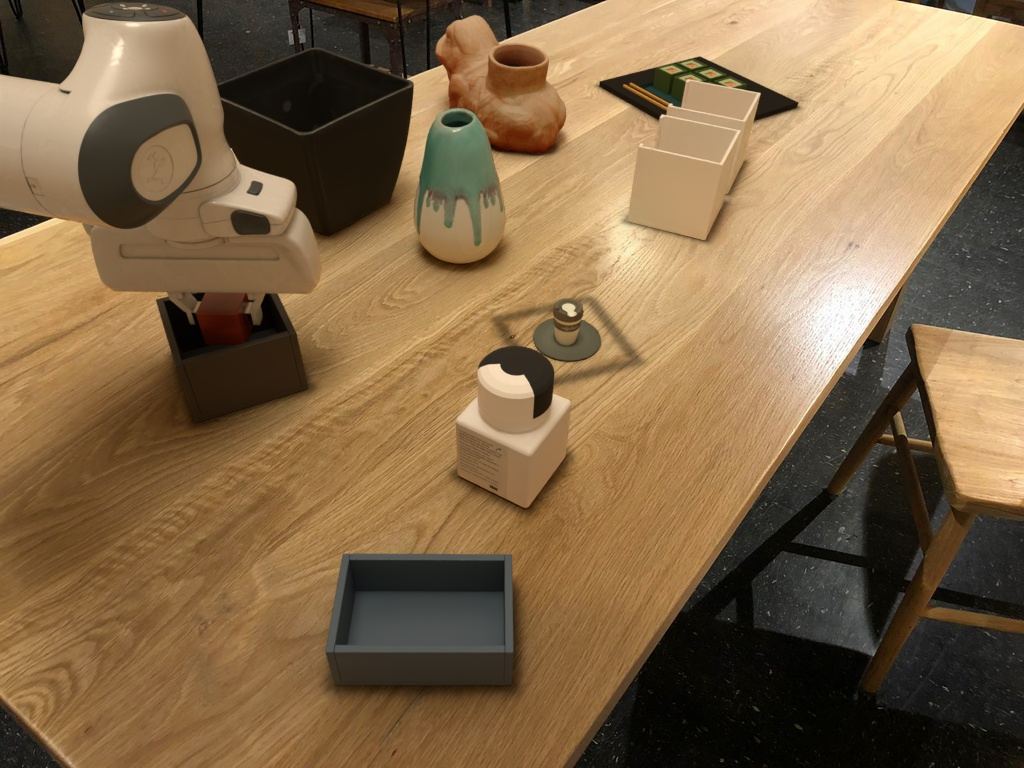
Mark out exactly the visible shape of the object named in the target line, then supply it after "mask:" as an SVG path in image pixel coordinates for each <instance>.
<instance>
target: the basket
mask: <svg viewBox="0 0 1024 768" xmlns="http://www.w3.org/2000/svg"><path fill="white" fill-rule="evenodd" d="M190 293H191V294H192V296H193V297H194V298H195V299H196V300H197V301H202V299H203V297H204V295H205V293H195V292H190ZM253 301H254V300H250V302H253ZM155 303H156V306H157V310H158V312H159V313H158V314H159V316H160V319H161V323H162V326H163V329H164V333H165V336H166V341H167V343H168V347H169V350H170V354H171V356H172V360H173V363H174V367H175V370H176V372H177V376H178V378H179V380H180V381H179V382H180V383H181V385H182V388H183V389H182V390H183V391H184V395H185V397H186V400H187V402H188V405H189V407H190V411H191V413H192V415H193V418H194V421H195V423H201V422H203V421H207V420H210V419H214V418H217V417H220V416H224V415H227V414H231V413H233V412H236V411H239V410H243V409H247V408H250V407H253V406H256V405H260V404H262V403H266V402H269V401H273V400H276V399H279V398H282V397H286V396H289V395H292V394H295V393H296V394H297V393H298V392H303V391H305V390H308V389H309V385H308V379H307V376H306V371H305V366H304V361H303V357H302V352H301V347H300V343H299V339H298V333H297V331H296V329H295V327H294V324H293V323H292V321H291V319H290V317H289V315H288V312H287V310H286V308H285V306H284V304H283V302H282V300H281V298H280V296H279V294H274V293H265V296H264V299H263V301H262V303H261V305H260V306H261V310H262V314H263V315H262V321H261V323H260V325H253V327H252V330H251V332H250V335H249V338H248V340H247V342H246V343H242V344H238V345H206V343H205V340H204V337H203V334H202V331H201V328H200V325H196V324H190V322H189V319H188V316H187V313H186V312H184V311H183V310H182V309H180V308H179V307H178V306H177V305H176V304H175V303H173V302H172V301H171V300H170V299H169V297H168V296H165V297H160V298H156V299H155Z"/></svg>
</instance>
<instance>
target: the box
mask: <svg viewBox="0 0 1024 768" xmlns="http://www.w3.org/2000/svg"><path fill="white" fill-rule="evenodd" d="M513 579H514V578H513V554H512V553H505V554H503V553H342V555H341V561H340V566H339V572H338V577H337V583H336V588H335V596H334V600H333V607H332V612H331V617H330V622H329V623H330V624H329V629H328V635H327V640H326V646H325V656H326V659H327V663H328V665H329V670H330V673H331V677H332V681H333V683H334V685H335V686H512V685H513V670H514V669H513V668H514V654H515V653H514V651H515V650H514V646H515V645H514V592H513V591H514V589H513V588H514V587H513V585H514V584H513V583H514V582H513Z"/></svg>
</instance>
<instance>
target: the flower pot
mask: <svg viewBox="0 0 1024 768" xmlns="http://www.w3.org/2000/svg"><path fill="white" fill-rule="evenodd" d="M216 84H217V88H218V91H219V95H220V99H221V103H222V107H223V112H224V124H223V130H224V136H225V139H226V142H227V144H228V145H229V147H230V148H231V150H232V152H233V154H234V157H235V159H236V161H237V162H238V163H239V164H241V165H244V166H246V167H249V168H252V169H255V170H258V171H261V172H264V173H267V174H270V175H274V176H277V177H281V178H284V179H287V180H290V181H291V182H293V183H294V184H295V186H296V190H297V201H296V206H295V207H296V208H297V209H299V210H300V211H302V212H303V213H304V215H305V216H306V217H307V219H308V220H309V222H310V225H311V227H312V230H313V231H315V232H317V233H319V234H320V235H321V234H322V235H324V236H329V235H333V234H334V233H336V232H339V231H340V230H341V229H343V228H345V227H347V226H349V225H351V224H352V223H354V222H355V221H357V220H359V219H360V218H363V217H365V215H368V214H369V213H371V212H373V211H374V210H376V209H378V208H379V207H381V206H383V205H385V204H386V203H388V202H391V199H392V197H393V194H394V192H395V189H396V186H397V182H398V179H399V175H400V173H401V169H402V165H403V161H404V156H405V152H406V148H407V144H408V143H407V142H408V138H409V133H410V125H411V120H412V112H413V111H412V110H413V104H414V103H413V102H414V92H415V91H414V89H415V88H414V87H415V83H414V82H413V80H411V79H407V78H405V77H402V76H399V75H398V74H394V73H391V72H389V71H385V70H383V69H380V68H377V67H374V66H372V65H369V64H366V63H363V62H360V61H358V60H356V59H352V58H350V57H347V56H344V55H341V54H338V53H335V52H333V51H329V50H327V49H324V48H321V47H311V48H308V49H305V50H302V51H299V52H297V53H294V54H292V55H288V56H286V57H284V58H281V59H279V60H276V61H273V62H271V63H268V64H265V65H263V66H260V67H258V68H256V69H252V70H250V71H247V72H245V73H242V74H240V75H238V76H235V77H232V78H229V79H226V80H224V81H222V82H220V83H216Z"/></svg>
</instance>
